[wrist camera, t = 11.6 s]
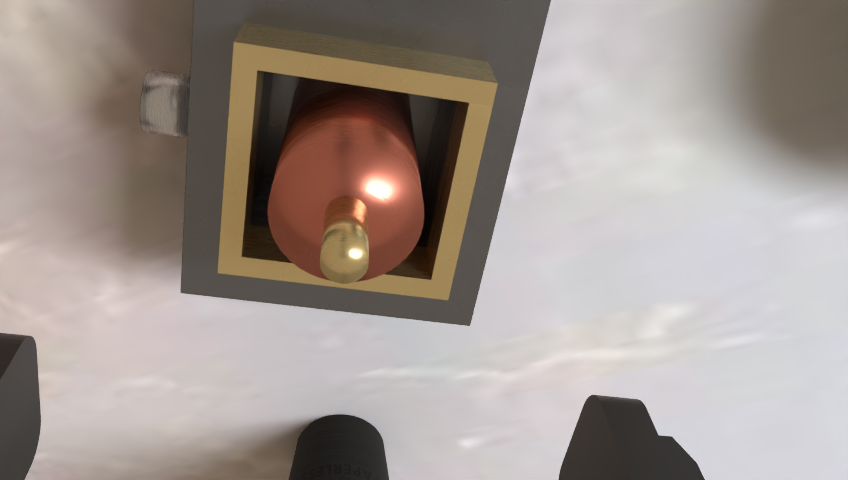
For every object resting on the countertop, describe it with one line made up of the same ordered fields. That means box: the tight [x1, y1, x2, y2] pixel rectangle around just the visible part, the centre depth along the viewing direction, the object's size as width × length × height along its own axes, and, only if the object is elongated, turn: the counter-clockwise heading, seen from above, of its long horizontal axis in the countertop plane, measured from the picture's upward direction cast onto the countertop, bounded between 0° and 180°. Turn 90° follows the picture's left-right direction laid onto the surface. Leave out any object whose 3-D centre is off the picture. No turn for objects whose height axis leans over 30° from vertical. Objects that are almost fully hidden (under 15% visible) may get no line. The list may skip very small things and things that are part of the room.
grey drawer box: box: [140, 0, 551, 326], centre depth 32 cm, size 14×14×8 cm
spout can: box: [268, 77, 424, 284], centre depth 29 cm, size 5×5×13 cm
